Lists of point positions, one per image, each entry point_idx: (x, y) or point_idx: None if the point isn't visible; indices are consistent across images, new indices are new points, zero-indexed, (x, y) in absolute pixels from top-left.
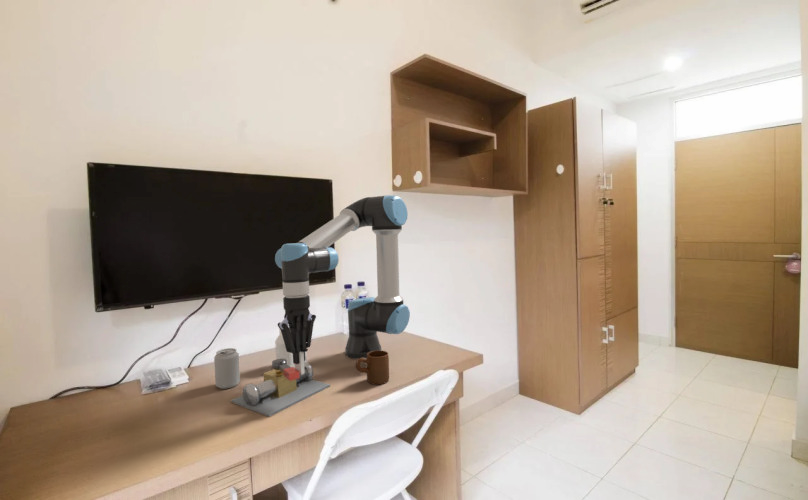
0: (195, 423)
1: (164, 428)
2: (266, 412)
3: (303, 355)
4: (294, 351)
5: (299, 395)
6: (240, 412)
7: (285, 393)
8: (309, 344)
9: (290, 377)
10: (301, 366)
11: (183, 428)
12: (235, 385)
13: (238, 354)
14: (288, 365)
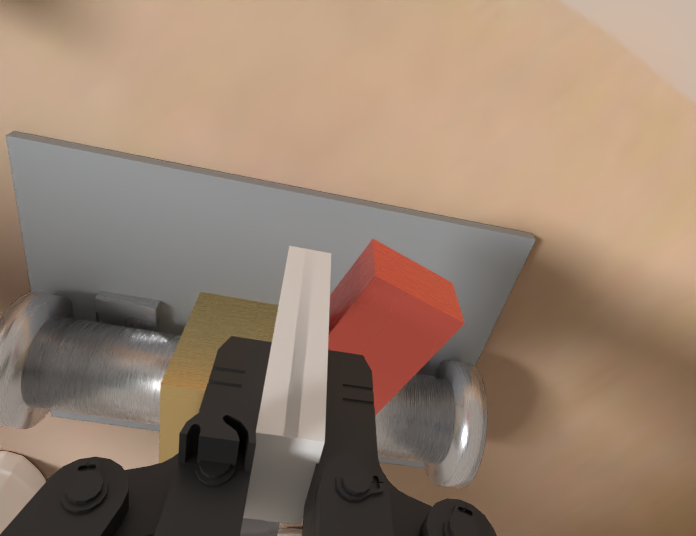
0: (623, 453)
1: (664, 503)
2: (512, 267)
3: (268, 391)
4: (452, 519)
5: (257, 230)
6: (507, 377)
7: None
8: (67, 505)
9: (449, 294)
10: (322, 303)
11: (664, 460)
12: (286, 529)
13: None
14: (9, 484)
